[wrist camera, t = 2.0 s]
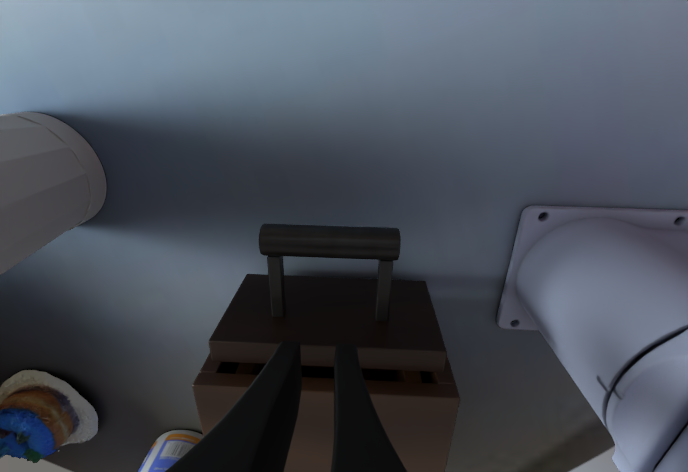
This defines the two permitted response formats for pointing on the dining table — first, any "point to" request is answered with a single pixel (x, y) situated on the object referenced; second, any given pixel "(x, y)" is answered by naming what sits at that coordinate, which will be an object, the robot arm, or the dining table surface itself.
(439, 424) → the cabinet
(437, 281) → the dining table surface
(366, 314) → the drawer
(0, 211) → the cup
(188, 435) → the pill bottle
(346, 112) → the dining table surface
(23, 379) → the dessert
